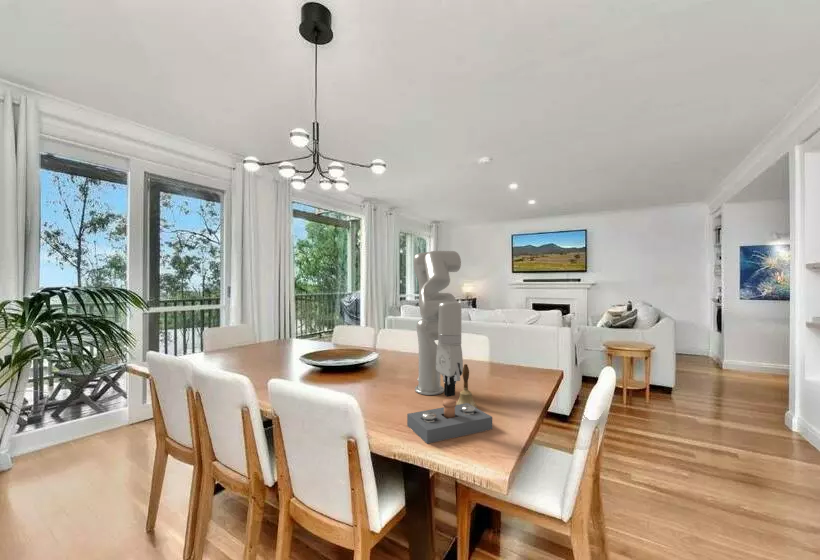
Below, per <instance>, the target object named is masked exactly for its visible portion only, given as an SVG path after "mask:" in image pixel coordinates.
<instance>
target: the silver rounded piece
mask: <svg viewBox="0 0 820 560" xmlns="http://www.w3.org/2000/svg"><path fill="white" fill-rule="evenodd" d="M462 411H463V413H464V414H466V415H470V414H474V412H475V407H474V406H472V405H463V406H462Z"/></svg>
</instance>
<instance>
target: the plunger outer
mask: <svg viewBox="0 0 820 560" xmlns="http://www.w3.org/2000/svg"><path fill="white" fill-rule="evenodd" d="M422 418H423V419H424V421H425V422H426V423H429V422H434V421H435V420H436V413H434V412H424V413H423V414H422Z"/></svg>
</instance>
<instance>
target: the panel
mask: <svg viewBox="0 0 820 560" xmlns="http://www.w3.org/2000/svg"><path fill="white" fill-rule="evenodd" d="M463 405H470V404H468V403H465V404H460V405H456V406H455V417H454V418H449V419H447V418H445V417H444V406H443V407H438V408H433V409H428V410H421V411H417V412H416V411H415V412H410V413H407V416H406V417H407V421H406V422H407V425H406V426H407V427H408V428H409V429H410V428H411V429H412V430H413V433H414V434H415V435H417V436H418V437H419V438H420V439H421V440H422V441H424V442H425V443H426V444H427V445H428V444H432V443H437V442H442V441H445V439H446V440H451V439H454V438H459V437H464V436H467V435H473V434H478V433H483V432H486V430H487V431H490V429H491V430H493V416H491V415H489V414H488V413H486V412H485V411H483V410H481V409H480V408H478V407H477V408H476V407H475V412H474V414H470V415H466V414H464V413H463V411H462V406H463ZM424 412H434V413H436V420H435V421H434V422H429V423H426V422H425V421H424V419H423V418H422V414H423V413H424ZM411 429H410V430H411ZM450 438H451V439H450Z"/></svg>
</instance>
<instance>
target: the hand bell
mask: <svg viewBox="0 0 820 560" xmlns="http://www.w3.org/2000/svg"><path fill="white" fill-rule="evenodd" d="M469 369H470V368H469V366H468V364H466V363H463V373H462V375H461V376H462V379H463V390H461V391H460V392H459V398H458V400H457V401H456V405H460V404H465V403H468V404H470V405H472V406H474V407H476V408H477V409H478V405H477V404H476V403H475V401H474V399H473V393H472V391H471V390H469V378H470V370H469Z"/></svg>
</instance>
